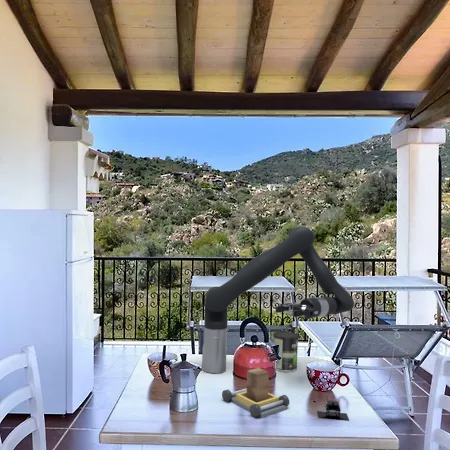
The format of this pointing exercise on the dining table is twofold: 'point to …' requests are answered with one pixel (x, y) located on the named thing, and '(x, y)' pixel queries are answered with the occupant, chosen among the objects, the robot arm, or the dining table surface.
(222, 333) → the robot arm
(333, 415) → the black angular machine part
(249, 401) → the chassis
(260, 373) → the brown wooden block
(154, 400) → the dining table surface
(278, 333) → the coffee can
